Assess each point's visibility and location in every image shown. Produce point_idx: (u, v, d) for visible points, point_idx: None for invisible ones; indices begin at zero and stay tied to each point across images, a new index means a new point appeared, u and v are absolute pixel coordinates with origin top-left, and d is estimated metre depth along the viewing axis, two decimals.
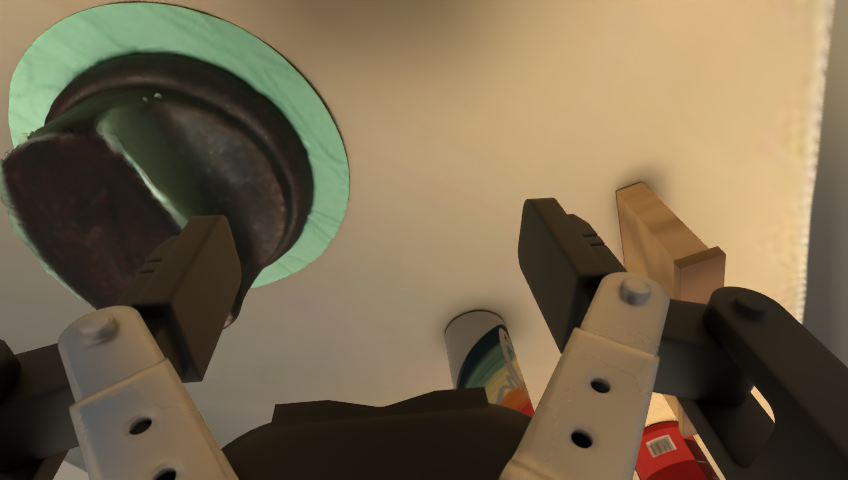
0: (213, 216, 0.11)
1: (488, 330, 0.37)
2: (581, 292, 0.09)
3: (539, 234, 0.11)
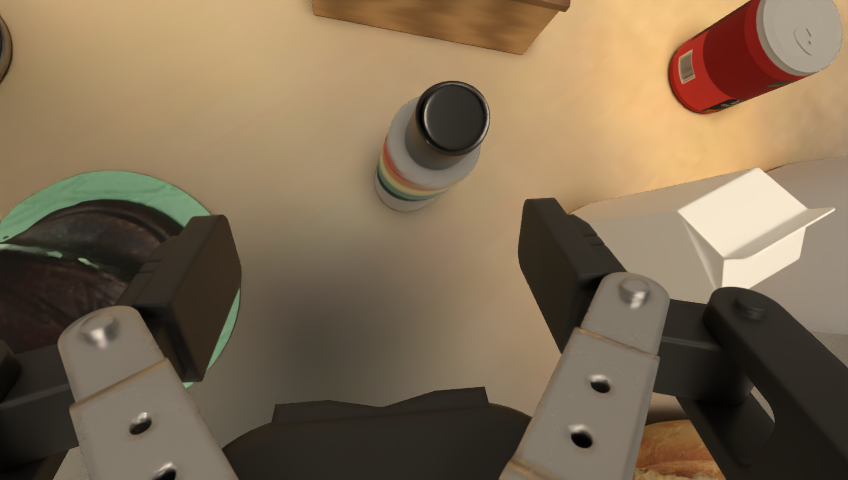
0: (213, 216, 0.11)
1: None
2: (581, 292, 0.09)
3: (539, 234, 0.11)
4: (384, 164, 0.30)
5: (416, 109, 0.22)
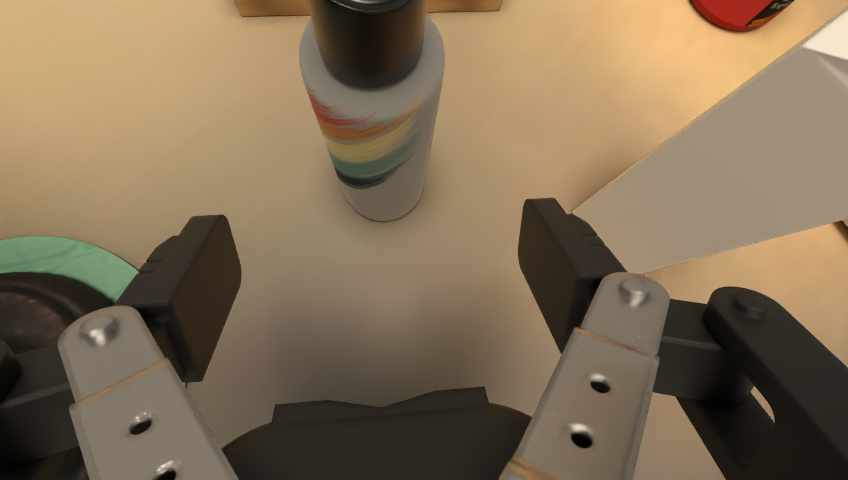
0: (213, 216, 0.11)
1: None
2: (581, 292, 0.09)
3: (539, 234, 0.11)
4: (320, 127, 0.21)
5: None
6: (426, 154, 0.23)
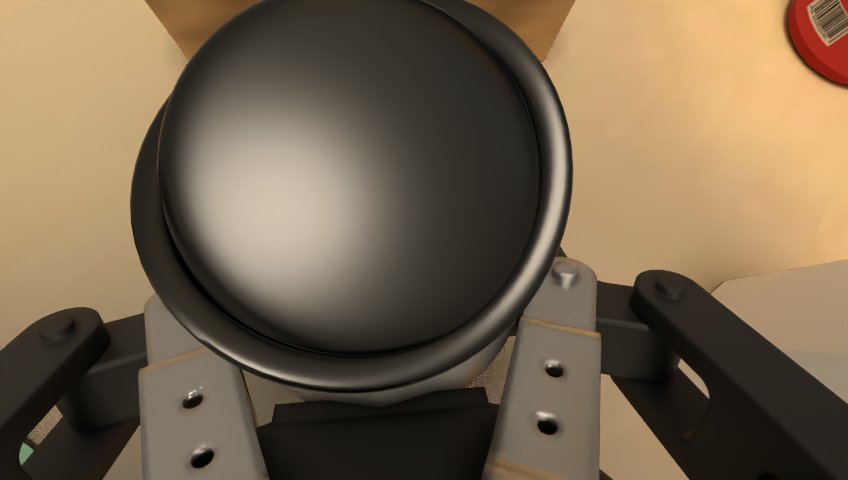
0: None
1: None
2: None
3: None
4: None
5: (140, 165, 0.04)
6: None
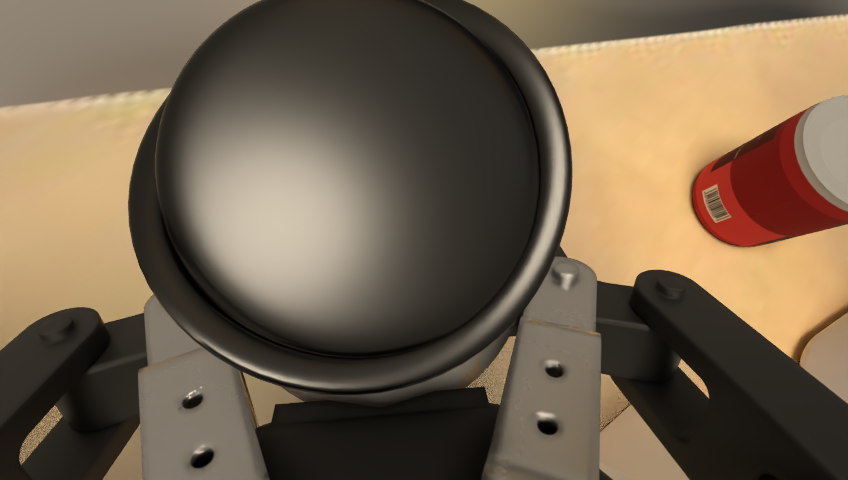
0: None
1: None
2: None
3: None
4: None
5: (138, 167, 0.04)
6: None
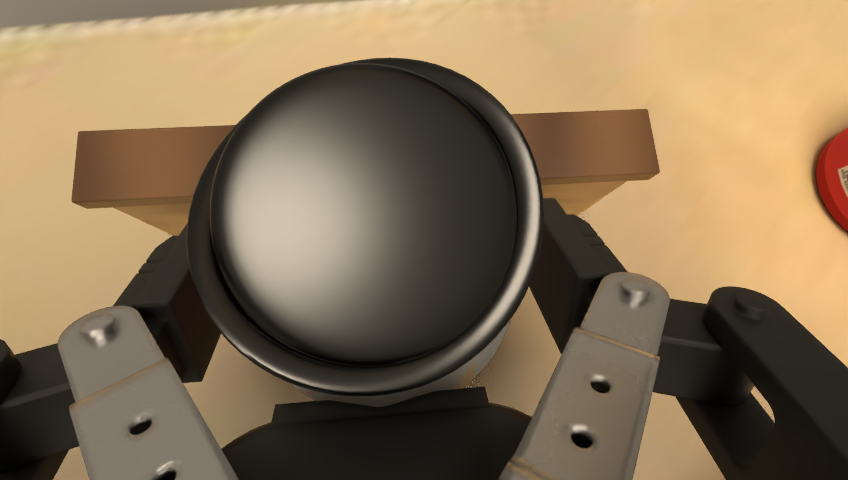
0: None
1: None
2: (581, 292, 0.09)
3: None
4: None
5: (192, 212, 0.05)
6: None
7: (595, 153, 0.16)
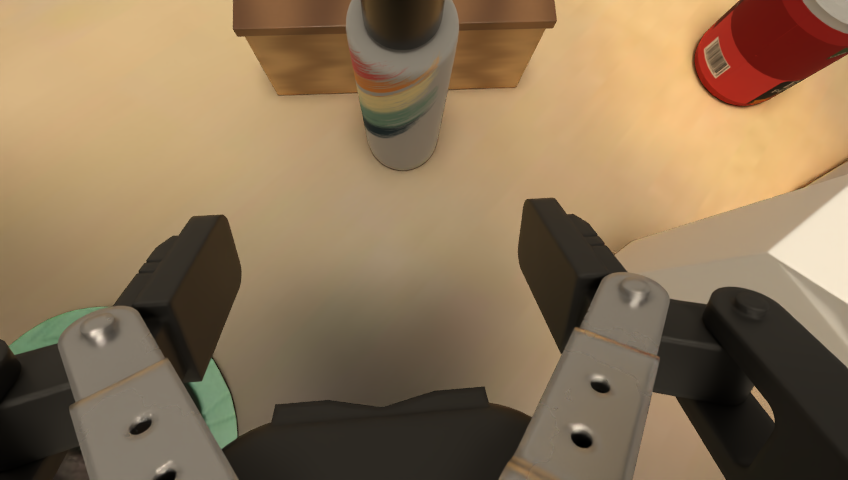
0: (213, 216, 0.11)
1: None
2: (581, 292, 0.09)
3: (539, 234, 0.11)
4: (357, 83, 0.26)
5: None
6: (441, 108, 0.28)
7: (520, 9, 0.29)
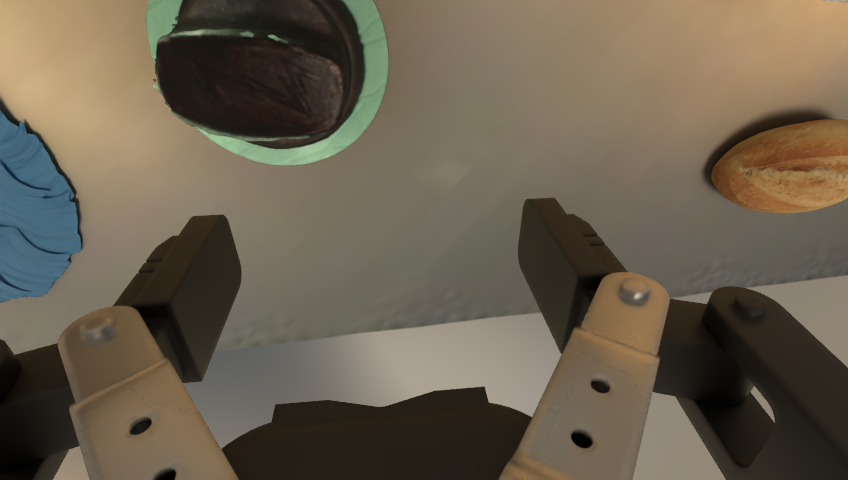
0: (213, 216, 0.11)
1: None
2: (581, 292, 0.09)
3: (539, 234, 0.11)
4: None
5: None
6: None
7: None
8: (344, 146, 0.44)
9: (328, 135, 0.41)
